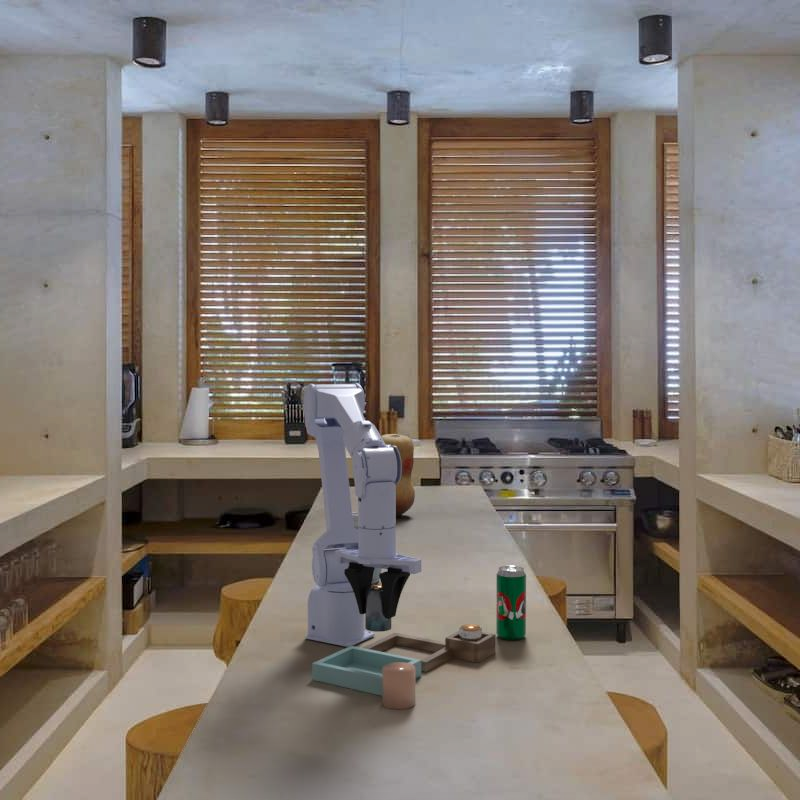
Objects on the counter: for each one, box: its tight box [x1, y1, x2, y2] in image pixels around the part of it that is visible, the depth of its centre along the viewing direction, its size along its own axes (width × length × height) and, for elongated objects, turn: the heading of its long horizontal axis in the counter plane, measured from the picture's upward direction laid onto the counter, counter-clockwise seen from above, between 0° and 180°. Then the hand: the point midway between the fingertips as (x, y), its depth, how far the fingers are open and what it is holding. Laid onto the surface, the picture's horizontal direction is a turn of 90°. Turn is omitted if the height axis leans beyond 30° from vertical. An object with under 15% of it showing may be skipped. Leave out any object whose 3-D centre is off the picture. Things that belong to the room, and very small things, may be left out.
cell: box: [364, 584, 392, 633], centre depth 141 cm, size 4×4×6 cm
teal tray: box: [311, 645, 422, 697], centre depth 139 cm, size 13×10×2 cm
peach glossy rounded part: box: [382, 662, 416, 710], centre depth 129 cm, size 5×5×5 cm
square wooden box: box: [444, 630, 497, 664], centre depth 150 cm, size 6×6×3 cm
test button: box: [458, 623, 483, 642], centre depth 150 cm, size 4×4×3 cm
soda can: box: [495, 565, 527, 642], centre depth 159 cm, size 5×5×12 cm
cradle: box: [362, 632, 453, 673], centre depth 149 cm, size 12×10×2 cm
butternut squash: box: [380, 433, 416, 517], centre depth 280 cm, size 14×13×25 cm
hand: (377, 614), depth 141 cm, fingers closed on cell, 4 cm apart
